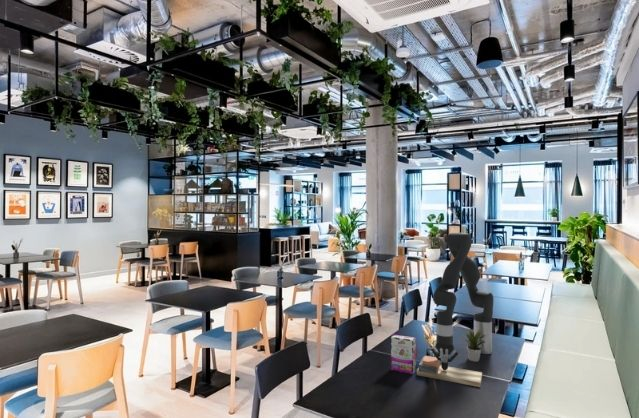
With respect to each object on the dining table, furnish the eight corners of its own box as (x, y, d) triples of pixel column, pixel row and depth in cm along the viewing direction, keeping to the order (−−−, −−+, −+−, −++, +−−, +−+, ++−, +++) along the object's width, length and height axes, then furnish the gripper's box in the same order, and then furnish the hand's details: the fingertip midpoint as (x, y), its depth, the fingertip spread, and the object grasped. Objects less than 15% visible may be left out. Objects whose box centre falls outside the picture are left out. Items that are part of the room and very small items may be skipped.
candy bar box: (415, 371, 192) (416, 337, 192) (413, 374, 188) (413, 340, 188) (393, 366, 197) (393, 333, 197) (390, 370, 193) (390, 336, 193)
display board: (421, 365, 198) (421, 355, 198) (482, 376, 186) (482, 366, 186) (416, 374, 188) (416, 364, 188) (480, 387, 175) (480, 375, 175)
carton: (424, 364, 195) (425, 355, 195) (439, 367, 192) (439, 357, 192) (422, 370, 188) (422, 360, 188) (437, 372, 186) (437, 363, 186)
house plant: (484, 368, 196) (484, 335, 195) (456, 361, 204) (456, 330, 204) (491, 359, 207) (492, 328, 207) (464, 353, 215) (465, 323, 215)
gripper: (460, 332, 188) (460, 369, 188) (431, 329, 194) (431, 364, 194) (458, 337, 181) (458, 375, 181) (428, 333, 187) (429, 370, 187)
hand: (444, 369), depth 188 cm, fingers closed
